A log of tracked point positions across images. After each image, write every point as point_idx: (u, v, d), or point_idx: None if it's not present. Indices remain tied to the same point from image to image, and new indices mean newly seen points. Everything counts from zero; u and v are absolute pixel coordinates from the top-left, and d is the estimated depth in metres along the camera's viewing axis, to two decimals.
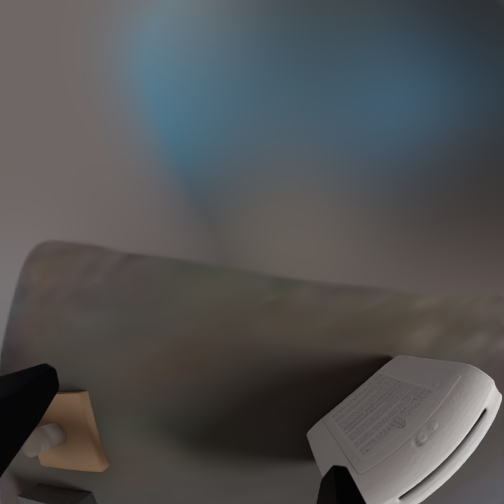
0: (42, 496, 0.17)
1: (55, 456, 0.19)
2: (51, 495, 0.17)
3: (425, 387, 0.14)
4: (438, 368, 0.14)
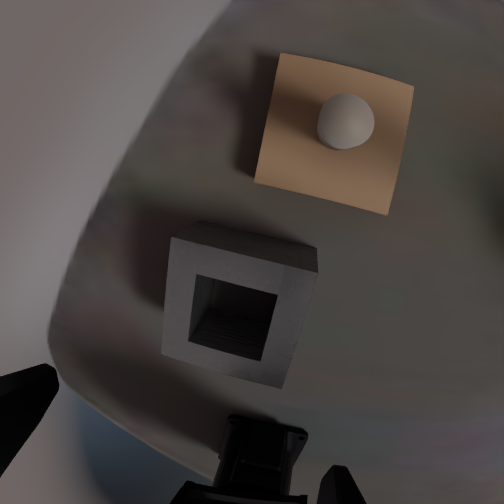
0: (230, 242, 0.16)
1: (304, 169, 0.15)
2: (247, 242, 0.16)
3: None
4: None
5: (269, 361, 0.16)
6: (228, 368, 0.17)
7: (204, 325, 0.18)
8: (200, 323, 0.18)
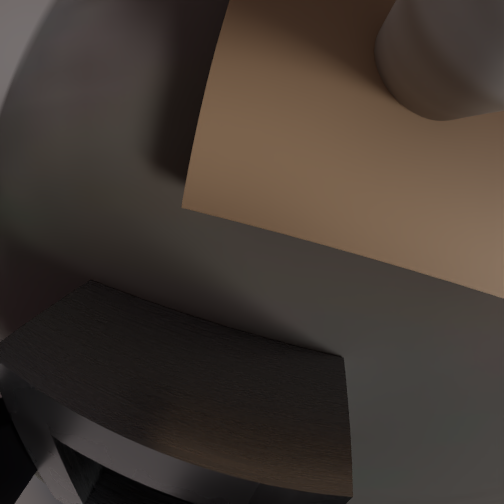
0: (120, 373, 0.05)
1: (336, 171, 0.05)
2: (168, 368, 0.06)
3: None
4: None
5: None
6: None
7: None
8: None
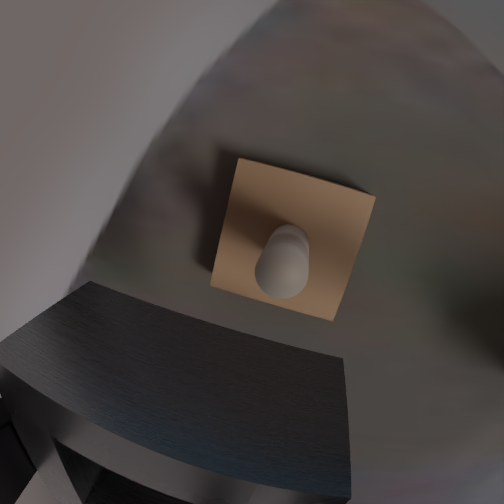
0: (119, 374, 0.05)
1: (256, 278, 0.17)
2: (167, 369, 0.06)
3: None
4: None
5: None
6: None
7: None
8: None
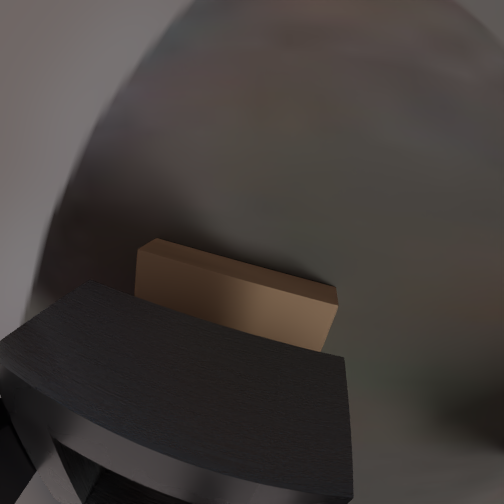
0: (119, 373, 0.05)
1: None
2: (167, 368, 0.06)
3: None
4: None
5: None
6: None
7: None
8: None
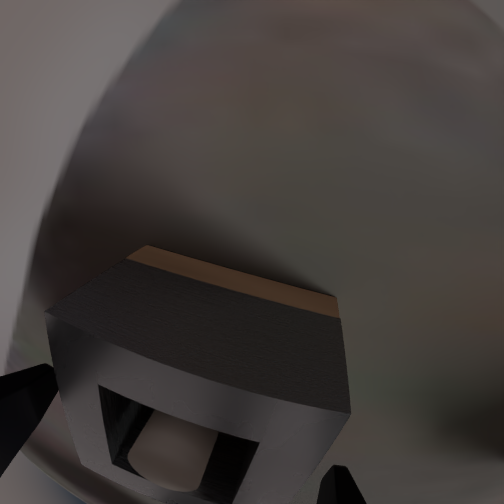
0: (163, 323, 0.07)
1: None
2: (200, 320, 0.08)
3: None
4: None
5: None
6: None
7: None
8: (137, 425, 0.10)
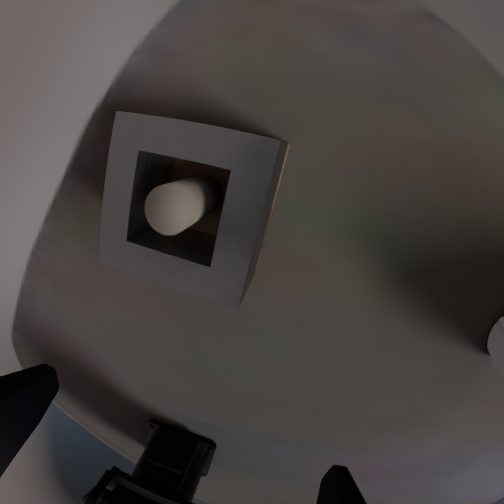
0: None
1: None
2: None
3: None
4: None
5: (221, 267, 0.13)
6: (172, 278, 0.13)
7: (152, 231, 0.15)
8: (148, 229, 0.15)
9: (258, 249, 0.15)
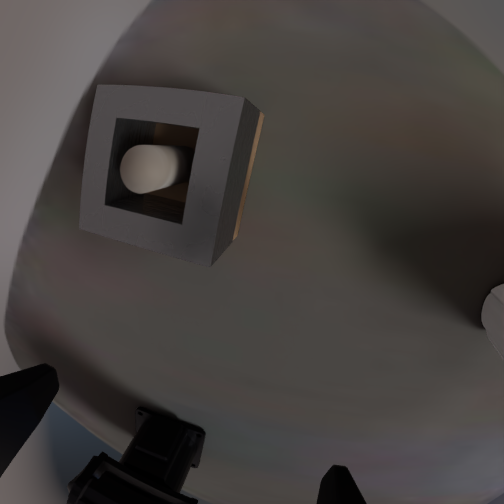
0: None
1: None
2: None
3: None
4: None
5: (192, 223, 0.13)
6: (146, 238, 0.14)
7: (131, 199, 0.15)
8: (127, 198, 0.15)
9: (232, 212, 0.15)
